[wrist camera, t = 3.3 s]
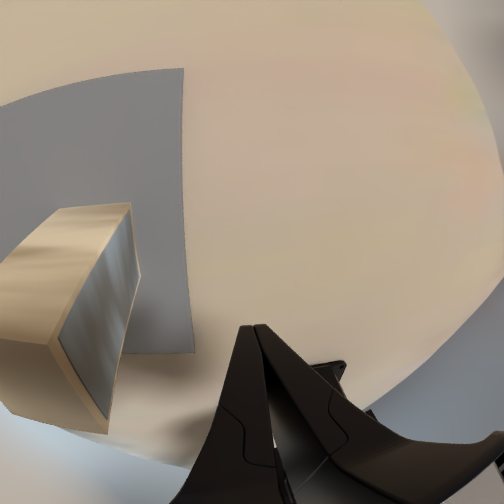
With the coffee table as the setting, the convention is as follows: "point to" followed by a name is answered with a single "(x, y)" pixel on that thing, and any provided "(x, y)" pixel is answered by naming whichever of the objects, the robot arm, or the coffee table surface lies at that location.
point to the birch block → (67, 316)
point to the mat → (108, 183)
